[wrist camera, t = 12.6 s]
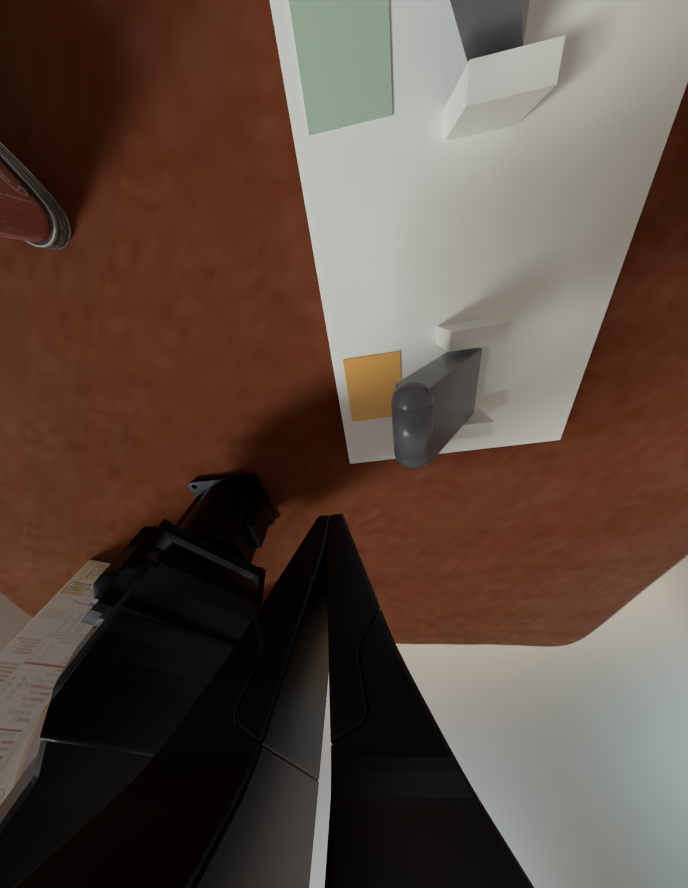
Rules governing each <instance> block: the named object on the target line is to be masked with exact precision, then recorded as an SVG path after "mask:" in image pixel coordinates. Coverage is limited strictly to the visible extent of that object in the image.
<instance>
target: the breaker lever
mask: <svg viewBox="0 0 688 888" xmlns="http://www.w3.org/2000/svg"><path fill="white" fill-rule="evenodd" d="M481 354H482V348H471V349H464V350H458V351H451V352H449V351H448V352H446V353H445V354H443V355H441V356H440V357H438V358H437V359H435V360H433V361H432V362H430V363H429V364H427V365H425V366H424V367H422V368H420V369H419V370H417V371H416V372H414V373H412V374H411V375H409V376H408V377H406V378H404V379H403V380H401V381H400V382H398V383H396V384H395V385H396V389H395V391H394V392H393V395H392V399H391V408H392V426H393V444H394V454H395V457H396V459H397V461H398V462H399V463H400V464H401V465H403V466H404V467H407V468H419V467H421V466H423V465H425V466H428V465H429V464H430V463H431V462H432V461H433V459H434V458H435V457H436V456H437V455H438V454H439V452H440V451H441V450H442V449H443V448H444V447H445V446H446V444H447V443H448V442H449V441H450V440H451V439H452V437H453V436H454V435H455V434H456V433H457V432H458V431H459V429H460V428H461V427H462V426H463V425H464V424H465V422H466V421H467V420H468V419H469V418H470V417H471V416H472V414H473V413H474V407H475V399H476V392H477V384H478V377H479V369H480V362H481Z"/></svg>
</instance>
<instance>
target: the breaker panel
mask: <svg viewBox="0 0 688 888" xmlns="http://www.w3.org/2000/svg"><path fill="white" fill-rule="evenodd" d="M270 6H271V11H272V17H273V23H274V29H275V34H276V40H277V46H278V52H279V58H280V63H281V69H282V75H283V81H284V86H285V92H286V98H287V104H288V109H289V115H290V121H291V127H292V133H293V138H294V144H295V150H296V156H297V161H298V167H299V173H300V179H301V184H302V190H303V196H304V202H305V208H306V213H307V219H308V225H309V231H310V236H311V242H312V248H313V254H314V259H315V265H316V271H317V277H318V283H319V288H320V294H321V300H322V306H323V311H324V317H325V323H326V329H327V334H328V340H329V346H330V352H331V358H332V363H333V369H334V375H335V381H336V386H337V392H338V398H339V404H340V409H341V415H342V421H343V427H344V433H345V438H346V444H347V450H348V456H349V461H350V464H353V463H362V462H371V461H380V460H388V459H396V457H395V454H394V444H393V426H392V408H391V399H392V395H393V392H394V391H395V389H396V385H395V384H396V383H398V382H400V381H401V380H403V379H404V378H406V377H408V376H409V375H411V374H412V373H414V372H416V371H417V370H419V369H420V368H422V367H424V366H425V365H427V364H429V363H430V362H432V361H433V360H435V359H437V358H438V357H440V356H441V355H443V354H445V353H446V352H448V351H449V352H451V351H458V350H464V349H471V348H482V354H481V362H480V369H479V377H478V384H477V392H476V399H475V407H474V413H473V414H472V416H471V417H470V418H469V419H468V420H467V421H466V422H465V424H464V425H463V426H462V427H461V428H460V429H459V431H458V432H457V433H456V434H455V435H454V436H453V437H452V439H451V440H450V441H449V442H448V443H447V444H446V446H445V447H444V448H443V449H442V450H441V451H440V452H439V454H441V453H450V452H459V451H467V450H476V449H485V448H494V447H502V446H511V445H520V444H529V443H537V442H546V441H555V440H560V439H561V436H562V433H563V431H564V428H565V425H566V422H567V419H568V417H569V414H570V411H571V408H572V405H573V403H574V400H575V397H576V394H577V391H578V389H579V386H580V383H581V380H582V377H583V375H584V372H585V369H586V366H587V363H588V360H589V358H590V355H591V352H592V349H593V346H594V344H595V341H596V338H597V335H598V332H599V330H600V327H601V324H602V321H603V318H604V316H605V313H606V310H607V307H608V304H609V302H610V299H611V296H612V293H613V290H614V288H615V285H616V282H617V279H618V276H619V274H620V271H621V268H622V265H623V262H624V259H625V257H626V254H627V251H628V248H629V245H630V243H631V240H632V237H633V234H634V231H635V229H636V226H637V223H638V220H639V217H640V215H641V212H642V209H643V206H644V203H645V201H646V198H647V195H648V192H649V189H650V187H651V184H652V181H653V178H654V175H655V173H656V170H657V167H658V164H659V161H660V158H661V156H662V153H663V150H664V147H665V144H666V142H667V139H668V136H669V133H670V130H671V128H672V125H673V122H674V119H675V116H676V114H677V111H678V108H679V105H680V102H681V100H682V97H683V94H684V91H685V88H686V86H687V83H688V0H270Z"/></svg>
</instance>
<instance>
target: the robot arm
mask: <svg viewBox="0 0 688 888" xmlns="http://www.w3.org/2000/svg"><path fill="white" fill-rule="evenodd" d="M250 478H251V479H253V480H251V479H250ZM195 485H196V486H195ZM189 488H190V489H191V491H192V492H193V494H194V496H195V497H196V498H195V500H194V501H193V503H192V504H191V505H190V507H189V508H188V509H187V511H186V512H185V513H184V515H183V516H182V517H181V519H180V520H179V521H178V523H177V524H176V525H173V524H171V523H172V522H170V521H168V520H166V519H164V520H163V521H162V522H161V524H160V525H159V526H158V527H156V526H154V527H143V529H142V530H141V531H140V532H139V533H138V534H137V535H136V536H135V538H134V539H133V540H132V541H131V542H130V543H129V544H128V546H127V547H126V548H125V549H124V550H123V551H122V552H121V553H120V554H119V555H118V556H117V558H116V559H115V560H114V561H113V562H112V563H111V564H110V565H109V566H108V567H107V568H106V569H105V571H104V572H103V573H102V574H101V575H100V576H99V577H98V578H97V580H96V581H95V582H94V583H93V591H94V599H93V600H92V602H91V603H90V604H89V605H91V606H92V608H91V609H90V610H89V611H88V613H87V614H86V615H85V616H84V618H83V619H82V620H81V622H83V623H86V624H89V625H94V626H93V627H92V628H91V630H90V631H89V632H88V633H87V635H86V636H85V637H84V639H83V640H82V641H81V642H80V644H79V645H78V646H77V648H76V649H75V651H74V653H73V654H72V656H71V658H70V659H69V661H68V663H67V664H66V666H65V668H64V669H63V671H62V673H61V674H60V676H59V678H58V679H57V681H56V683H55V685H54V688H53V691H52V696H51V700H50V704H49V707H48V710H47V713H46V716H45V720H44V723H43V727H42V730H41V734H40V740H41V743H40V747H39V752H38V754H37V755H36V757H35V758H34V759H33V761H32V762H31V764H30V765H29V766H28V768H27V769H26V771H25V772H24V773H23V775H22V776H21V778H20V779H19V780H18V782H17V783H16V785H15V786H14V787H13V789H12V790H11V791H10V793H9V794H8V796H7V797H6V798H5V800H4V801H3V803H2V804H1V805H0V888H309V881H310V870H311V860H312V849H313V838H314V828H315V827H314V826H315V816H316V805H317V795H318V784H319V782H318V779H319V772H320V761H321V750H322V739H323V728H324V717H325V707H326V695H327V685H328V674H329V686H330V725H331V726H330V727H331V743H332V746H331V805H330V819H329V834H328V849H327V864H326V879H325V888H534V887H533V885H532V883H531V882H530V880H529V879H528V877H527V876H526V874H525V872H524V871H523V869H522V867H521V866H520V864H519V863H518V861H517V859H516V858H515V856H514V855H513V853H512V852H511V850H510V848H509V847H508V845H507V843H506V842H505V841H504V839H503V837H502V835H501V834H500V832H499V831H498V829H497V828H496V826H495V824H494V823H493V821H492V819H491V818H490V816H489V815H488V813H487V811H486V810H485V808H484V806H483V805H482V803H481V801H480V800H479V798H478V796H477V795H476V793H475V791H474V790H473V788H472V786H471V785H470V783H469V781H468V779H467V778H466V776H465V774H464V772H463V771H462V769H461V767H460V765H459V764H458V762H457V760H456V758H455V756H454V754H453V753H452V751H451V749H450V747H449V745H448V743H447V742H446V740H445V738H444V736H443V734H442V732H441V730H440V728H439V727H438V725H437V723H436V721H435V719H434V717H433V715H432V714H431V712H430V710H429V708H428V706H427V704H426V703H425V700H424V699H423V697H422V695H421V693H420V691H419V690H418V687H417V685H416V684H415V682H414V680H413V678H412V676H411V674H410V672H409V670H408V668H407V666H406V664H405V662H404V661H403V658H402V656H401V654H400V653H399V651H398V649H397V646H396V644H395V641H394V639H393V637H392V635H391V632H390V630H389V628H388V625H387V623H386V620H385V618H384V615H383V613H382V611H381V609H380V606H379V603H378V601H377V598H376V596H375V593H374V591H373V588H372V586H371V583H370V581H369V578H368V576H367V573H366V571H365V568H364V566H363V563H362V561H361V558H360V556H359V553H358V551H357V548H356V546H355V543H354V541H353V538H352V536H351V533H350V530H349V528H348V525H347V523H346V520H345V518H344V516H343V514H334V515H331V516H330V515H325V516H319V517H318V518H317V520H316V521H315V523H314V524H313V526H312V527H311V529H310V530H309V532H308V534H307V535H306V537H305V538H304V540H303V541H302V543H301V545H300V546H299V548H298V549H297V551H296V552H295V554H294V555H293V557H292V559H291V560H290V562H289V563H288V565H287V566H286V568H285V570H284V571H283V573H282V574H281V576H280V577H279V579H278V580H277V582H276V584H275V585H274V587H273V588H272V590H271V591H270V593H269V595H268V596H267V598H266V599H265V601H264V602H263V604H262V601H263V591H264V580H265V569H263V568H261V567H257V566H255V565H253V564H251V562H252V559H253V556H254V553H255V551H256V548H260V547H261V546H262V544H263V541H264V538H265V535H266V532H267V529H268V527H269V525H273V524H274V522H275V517H274V514H273V509H272V507H271V505H270V502H269V500H268V497H267V495H266V494H265V493H264V491H263V489H262V486H261V484H260V482H259V480H258V477H257V476H256V475H255V474H242V475H233V476H224V477H216V478H207V479H198V480H192V481H191V483H190V484H189Z"/></svg>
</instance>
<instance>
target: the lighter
mask: <svg viewBox="0 0 688 888" xmlns="http://www.w3.org/2000/svg"><path fill="white" fill-rule="evenodd" d="M0 237H6V238H12V239H18V240H24V241H26V242H28V243H30V244H32V245H34V246H36V247H43V248H49V249H62V248H64V247H66V246H67V245H68V243H69V242H70V237H71V229H70V223H69V221H68V218H67V216H66V213H65V212H64V210H63V209H62V208H61V206H60V205H59V203H58V202H57V201H56V200H55V199H54V198H53V197H52V196H51V194H50V193H49V192H48V191H47V190H46V189H45V188H44V187H43V185H42V184H41V183H40V182H39V181H38V180H37V179H36V178H35V176H34V175H33V174H32V173H31V172H30V171H29V170H28V169H27V168H26V167H25V166H24V165H23V164H22V163H21V162H20V161H19V160H18V159H17V158H16V157H15V156H14V155H13V154H12V153H11V152H10V151H9V150H8V149H7V148H6V147H5V146H4V145H3V144H2V143H1V142H0Z"/></svg>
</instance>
